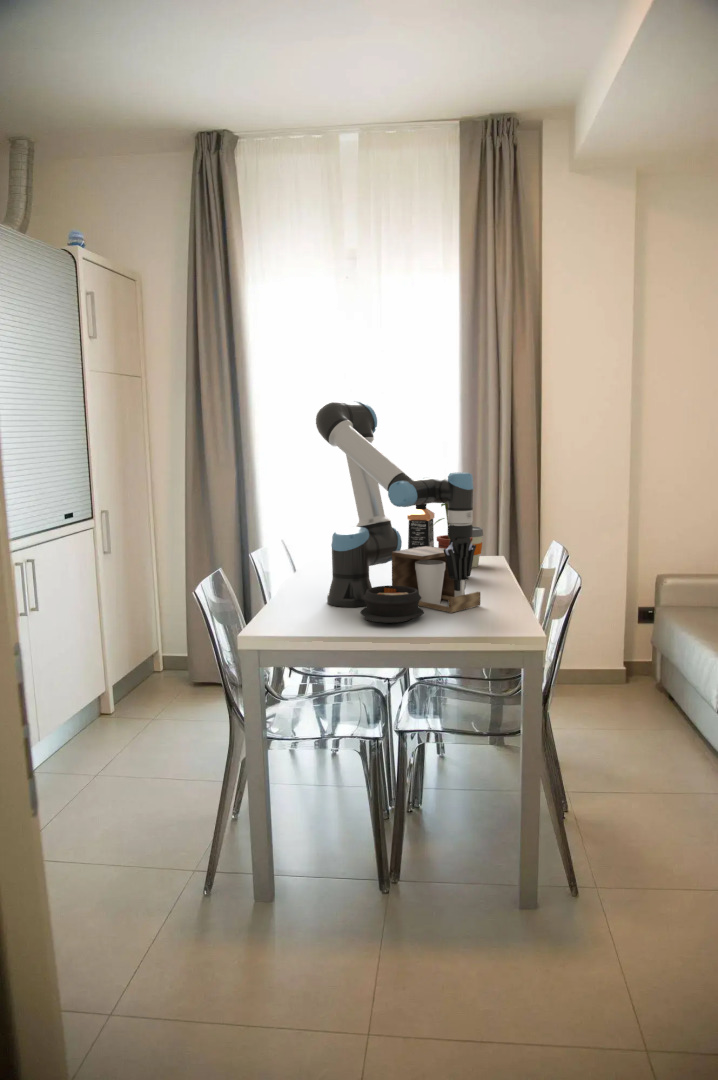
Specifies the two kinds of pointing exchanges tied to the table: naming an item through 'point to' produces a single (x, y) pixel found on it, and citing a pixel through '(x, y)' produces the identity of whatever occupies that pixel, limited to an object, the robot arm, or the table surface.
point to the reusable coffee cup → (477, 544)
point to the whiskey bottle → (420, 527)
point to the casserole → (391, 604)
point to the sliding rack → (456, 602)
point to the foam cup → (430, 580)
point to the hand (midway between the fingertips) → (459, 600)
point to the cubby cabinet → (406, 567)
